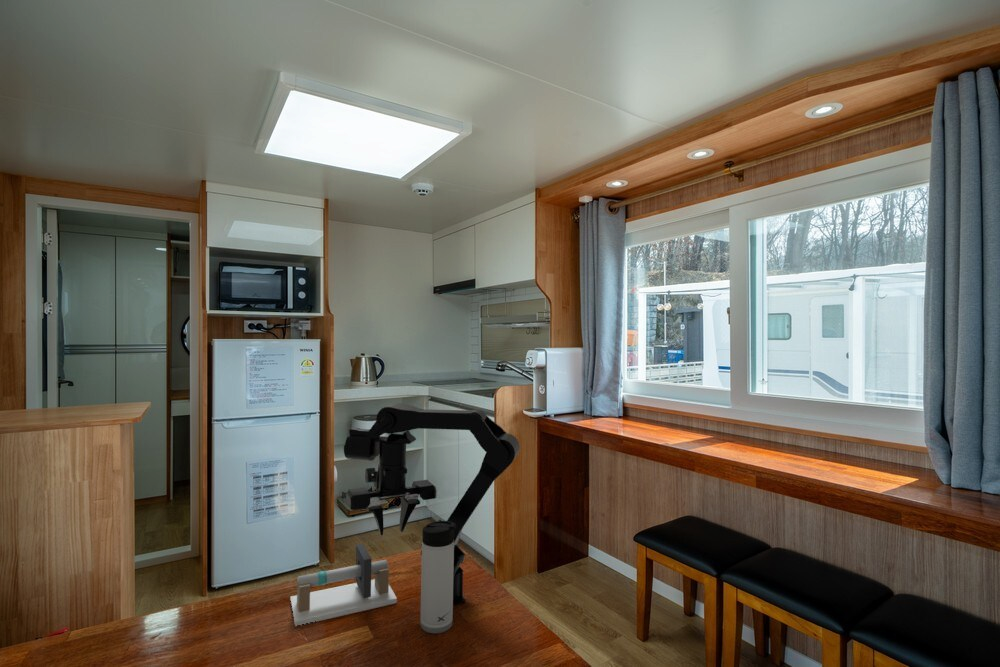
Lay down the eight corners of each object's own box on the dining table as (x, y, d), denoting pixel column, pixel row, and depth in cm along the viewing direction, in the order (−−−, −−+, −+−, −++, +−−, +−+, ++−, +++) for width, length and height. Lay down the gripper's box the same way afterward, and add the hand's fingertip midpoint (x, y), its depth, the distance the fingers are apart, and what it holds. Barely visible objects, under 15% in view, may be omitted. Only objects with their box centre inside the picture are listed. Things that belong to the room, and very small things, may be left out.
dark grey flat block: (362, 579, 114) (363, 543, 114) (370, 596, 107) (371, 558, 107) (355, 580, 113) (356, 544, 113) (363, 598, 106) (364, 559, 106)
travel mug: (448, 636, 97) (450, 531, 97) (415, 631, 98) (417, 528, 98) (457, 618, 103) (459, 519, 103) (426, 613, 105) (428, 516, 104)
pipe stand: (384, 581, 117) (385, 549, 117) (396, 602, 108) (397, 568, 108) (290, 601, 108) (290, 566, 108) (295, 626, 99) (295, 589, 99)
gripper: (421, 449, 124) (420, 514, 124) (341, 457, 115) (340, 526, 115) (437, 461, 114) (436, 531, 114) (351, 470, 105) (350, 546, 106)
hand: (391, 532), depth 113 cm, fingers open, 4 cm apart
